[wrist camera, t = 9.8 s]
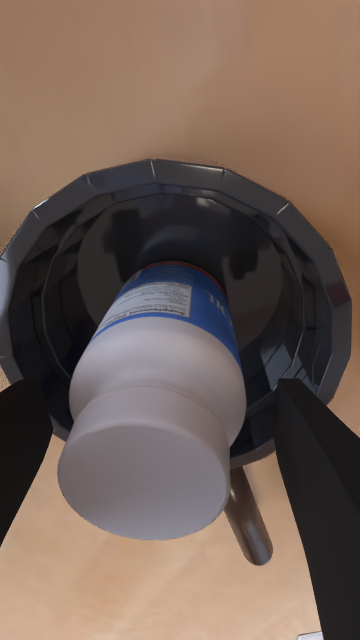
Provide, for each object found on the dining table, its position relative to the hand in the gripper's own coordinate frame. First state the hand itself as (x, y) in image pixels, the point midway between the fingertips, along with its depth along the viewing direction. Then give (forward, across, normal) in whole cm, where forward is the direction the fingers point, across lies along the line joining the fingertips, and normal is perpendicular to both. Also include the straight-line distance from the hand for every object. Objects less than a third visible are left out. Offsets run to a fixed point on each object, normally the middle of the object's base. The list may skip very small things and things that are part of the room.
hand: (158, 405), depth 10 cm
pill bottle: (+7, 0, 0) cm, 7 cm away
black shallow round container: (+7, 0, 0) cm, 7 cm away
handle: (+5, -3, +11) cm, 12 cm away
